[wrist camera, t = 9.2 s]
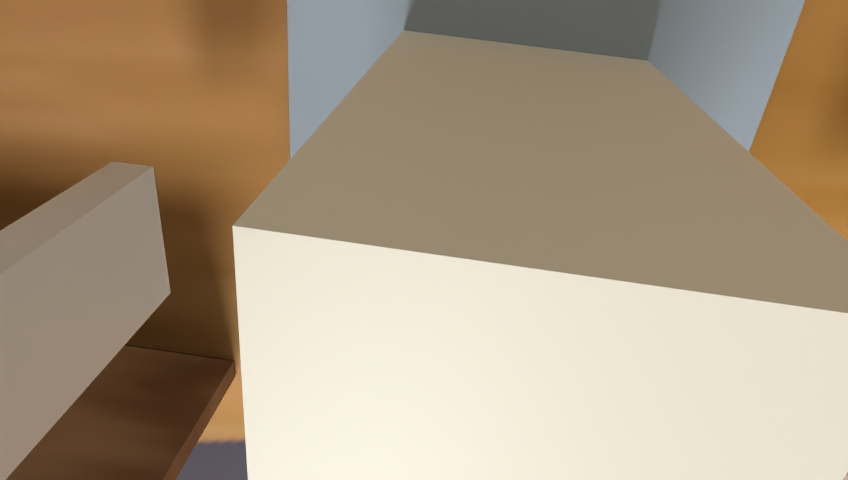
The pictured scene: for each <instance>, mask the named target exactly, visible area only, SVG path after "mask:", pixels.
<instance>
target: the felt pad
mask: <svg viewBox="0 0 848 480" xmlns="http://www.w3.org/2000/svg"><path fill="white" fill-rule="evenodd" d="M804 2H805V0H287V20H288V71H289V121H290V159H291V158H292V157H293V156H294V155H295V154H296V153H297V151H298V150H299V149H300V148H301V147H302V146H303V145H304V143H305V142H306V141H307V140H308V139H309V138H310V137H311V135H312V134H313V133H314V132H315V131H316V130H317V129H318V127H319V126H320V125H321V124H322V123H323V122H324V121H325V119H326V118H327V117H328V116H329V115H330V114H331V113H332V111H333V110H334V109H335V108H336V107H337V106H338V105H339V103H340V102H341V101H342V100H343V99H344V98H345V97H346V95H347V94H348V93H349V92H350V91H351V90H352V89H353V87H354V86H355V85H356V84H357V83H358V82H359V81H360V79H361V78H362V77H363V76H364V75H365V74H366V73H367V71H368V70H369V69H370V68H371V67H372V66H373V65H374V63H375V62H376V61H377V60H378V59H379V58H380V57H381V55H382V54H383V53H384V52H385V51H386V50H387V49H388V47H389V46H390V45H391V44H392V43H393V42H394V41H395V39H396V38H397V37H398V36H399V35H400V34H401V33H402V31H403V30H405V31H413V32H421V33H429V34H437V35H445V36H453V37H461V38H470V39H478V40H486V41H494V42H502V43H510V44H518V45H526V46H534V47H542V48H550V49H558V50H566V51H574V52H582V53H590V54H598V55H606V56H614V57H622V58H630V59H638V60H646V61H649V62H650V63H651V64H652V65H653V66H654V67H655V68H657V69H658V70H659V71H660V72H661V73H662V74H663V75H664V76H665V77H666V78H668V79H669V80H670V81H671V82H672V83H673V84H674V85H675V86H676V87H678V88H679V89H680V90H681V91H682V92H683V93H684V94H685V95H686V96H687V97H689V98H690V99H691V100H692V101H693V102H694V103H695V104H696V105H697V106H699V107H700V108H701V109H702V110H703V111H704V112H705V113H706V114H707V115H708V116H710V117H711V118H712V119H713V120H714V121H715V122H716V123H717V124H718V125H719V126H721V127H722V128H723V129H724V130H725V131H726V132H727V133H728V134H729V135H731V136H732V137H733V138H734V139H735V140H736V141H737V142H738V143H739V144H740V145H742V146H743V147H744V148H745V149H746V150H747V151H748V152H749V150H750V147H751V145H752V142H753V139H754V137H755V134H756V131H757V129H758V126H759V123H760V120H761V118H762V115H763V112H764V110H765V107H766V104H767V102H768V99H769V96H770V94H771V91H772V88H773V86H774V83H775V80H776V77H777V75H778V72H779V69H780V67H781V64H782V61H783V59H784V56H785V53H786V51H787V48H788V45H789V42H790V40H791V37H792V34H793V32H794V29H795V26H796V24H797V21H798V18H799V16H800V13H801V10H802V8H803V5H804Z"/></svg>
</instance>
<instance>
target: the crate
mask: <svg viewBox="0 0 848 480" xmlns="http://www.w3.org/2000/svg"><path fill="white" fill-rule="evenodd" d="M234 378H235V371H234V361H229V360H222V359H215V358H209V357H202V356H195V355H188V354H181V353H174V352H167V351H160V350H153V349H146V348H139V347H132V346H125V345H124V346H123V347H122V349H121V350H120V351H119V352H118V353H117V354H116V355H115V356H114V358H113V359H112V360H111V361H110V362H109V363H108V364H107V366H106V367H105V368H104V369H103V370H102V371H101V372H100V373H99V375H98V376H97V377H96V378H95V379H94V380H93V381H92V382H91V384H90V385H89V386H88V387H87V388H86V389H85V390H84V392H83V393H82V394H81V395H80V396H79V397H78V398H77V399H76V401H75V402H74V403H73V404H72V405H71V406H70V407H69V409H68V410H67V411H66V412H65V413H64V414H63V415H62V416H61V418H60V419H59V420H58V421H57V422H56V423H55V424H54V425H53V427H52V428H51V429H50V430H49V431H48V432H47V433H46V435H45V436H44V437H43V438H42V439H41V440H40V441H39V442H38V444H37V445H36V446H35V447H34V448H33V449H32V450H31V452H30V453H29V454H28V455H27V456H26V457H25V458H24V459H23V461H22V462H21V463H20V464H19V465H18V466H17V467H16V468H15V470H14V471H13V472H12V473H11V474H10V475H9V476H8V478H7V479H6V480H175V479H176V478H177V476H178V474H179V473H180V471H181V469H182V467H183V466H184V464H185V462H186V461H187V459H188V457H189V455H190V453H191V452H192V450H193V448H194V447H195V445H196V443H197V442H198V440H199V438H200V436H201V435H202V433H203V431H204V429H205V428H206V426H207V424H208V422H209V421H210V419H211V417H212V416H213V414H214V412H215V410H216V409H217V407H218V405H219V403H220V402H221V400H222V398H223V397H224V395H225V393H226V391H227V390H228V388H229V386H230V384H231V383H232V381H233V379H234Z"/></svg>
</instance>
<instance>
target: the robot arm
mask: <svg viewBox="0 0 848 480" xmlns="http://www.w3.org/2000/svg"><path fill="white" fill-rule="evenodd" d="M170 293H171V292H170V284H169V277H168V270H167V263H166V255H165V248H164V241H163V234H162V226H161V219H160V212H159V205H158V198H157V190H156V183H155V176H154V169H153V166H146V165H138V164H130V163H122V162H115V161H112V162H110V163H109V164H107V165H106V166H104V167H102V168H101V169H99V170H98V171H96V172H94V173H93V174H91V175H89V176H88V177H86V178H85V179H83V180H81V181H80V182H78V183H76V184H75V185H73V186H72V187H70V188H68V189H67V190H65V191H64V192H62V193H60V194H59V195H57V196H55V197H54V198H52V199H51V200H49V201H47V202H46V203H44V204H43V205H41V206H39V207H38V208H36V209H34V210H33V211H31V212H30V213H28V214H26V215H25V216H23V217H21V218H20V219H18V220H17V221H15V222H13V223H12V224H10V225H9V226H7V227H5V228H4V229H2V230H0V480H6V479H7V478H8V476H9V475H10V474H11V473H12V472H13V471H14V470H15V468H16V467H17V466H18V465H19V464H20V463H21V462H22V461H23V459H24V458H25V457H26V456H27V455H28V454H29V453H30V452H31V450H32V449H33V448H34V447H35V446H36V445H37V444H38V442H39V441H40V440H41V439H42V438H43V437H44V436H45V435H46V433H47V432H48V431H49V430H50V429H51V428H52V427H53V425H54V424H55V423H56V422H57V421H58V420H59V419H60V418H61V416H62V415H63V414H64V413H65V412H66V411H67V410H68V409H69V407H70V406H71V405H72V404H73V403H74V402H75V401H76V399H77V398H78V397H79V396H80V395H81V394H82V393H83V392H84V390H85V389H86V388H87V387H88V386H89V385H90V384H91V382H92V381H93V380H94V379H95V378H96V377H97V376H98V375H99V373H100V372H101V371H102V370H103V369H104V368H105V367H106V366H107V364H108V363H109V362H110V361H111V360H112V359H113V358H114V356H115V355H116V354H117V353H118V352H119V351H120V350H121V349H122V347H123V346H124V345H125V344H126V343H127V342H128V341H129V339H130V338H131V337H132V336H133V335H134V334H135V333H136V332H137V330H138V329H139V328H140V327H141V326H142V325H143V324H144V322H145V321H146V320H147V319H148V318H149V317H150V316H151V315H152V313H153V312H154V311H155V310H156V309H157V308H158V307H159V306H160V304H161V303H162V302H163V301H164V300H165V299H166V298H167V296H168V295H169V294H170Z"/></svg>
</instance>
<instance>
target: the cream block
mask: <svg viewBox="0 0 848 480" xmlns="http://www.w3.org/2000/svg"><path fill="white" fill-rule="evenodd" d="M232 227H233V243H234V259H235V276H236V292H237V308H238V325H239V341H240V357H241V374H242V390H243V406H244V423H245V439H246V454H247V471H248V480H843V478H844V477H845V475H846V474H847V472H848V241H846V240H845V239H844V238H843V237H842V236H841V235H840V234H839V233H838V232H837V231H835V230H834V229H833V228H832V227H831V226H830V225H829V224H828V223H827V222H825V221H824V220H823V219H822V218H821V217H820V216H819V215H818V214H817V213H816V212H814V211H813V210H812V209H811V208H810V207H809V206H808V205H807V204H806V203H804V202H803V201H802V200H801V199H800V198H799V197H798V196H797V195H796V194H795V193H793V192H792V191H791V190H790V189H789V188H788V187H787V186H786V185H785V184H784V183H782V182H781V181H780V180H779V179H778V178H777V177H776V176H775V175H774V174H772V173H771V172H770V171H769V170H768V169H767V168H766V167H765V166H764V165H763V164H761V163H760V162H759V161H758V160H757V159H756V158H755V157H754V156H753V155H752V154H750V153H749V152H748V151H747V150H746V149H745V148H744V147H743V146H742V145H740V144H739V143H738V142H737V141H736V140H735V139H734V138H733V137H732V136H731V135H729V134H728V133H727V132H726V131H725V130H724V129H723V128H722V127H721V126H719V125H718V124H717V123H716V122H715V121H714V120H713V119H712V118H711V117H710V116H708V115H707V114H706V113H705V112H704V111H703V110H702V109H701V108H700V107H699V106H697V105H696V104H695V103H694V102H693V101H692V100H691V99H690V98H689V97H687V96H686V95H685V94H684V93H683V92H682V91H681V90H680V89H679V88H678V87H676V86H675V85H674V84H673V83H672V82H671V81H670V80H669V79H668V78H666V77H665V76H664V75H663V74H662V73H661V72H660V71H659V70H658V69H657V68H655V67H654V66H653V65H652V64H651V63H650V62H649V61H646V60H638V59H630V58H622V57H614V56H606V55H598V54H590V53H582V52H574V51H566V50H558V49H550V48H542V47H534V46H526V45H518V44H510V43H502V42H494V41H486V40H478V39H470V38H461V37H453V36H445V35H437V34H429V33H421V32H413V31H405V30H403V31H402V33H401V34H400V35H399V36H398V37H397V38H396V39H395V41H394V42H393V43H392V44H391V45H390V46H389V47H388V49H387V50H386V51H385V52H384V53H383V54H382V55H381V57H380V58H379V59H378V60H377V61H376V62H375V63H374V65H373V66H372V67H371V68H370V69H369V70H368V71H367V73H366V74H365V75H364V76H363V77H362V78H361V79H360V81H359V82H358V83H357V84H356V85H355V86H354V87H353V89H352V90H351V91H350V92H349V93H348V94H347V95H346V97H345V98H344V99H343V100H342V101H341V102H340V103H339V105H338V106H337V107H336V108H335V109H334V110H333V111H332V113H331V114H330V115H329V116H328V117H327V118H326V119H325V121H324V122H323V123H322V124H321V125H320V126H319V127H318V129H317V130H316V131H315V132H314V133H313V134H312V135H311V137H310V138H309V139H308V140H307V141H306V142H305V143H304V145H303V146H302V147H301V148H300V149H299V150H298V151H297V153H296V154H295V155H294V156H293V157H292V158H291V159H290V161H289V162H288V163H287V164H286V165H285V166H284V167H283V169H282V170H281V171H280V172H279V173H278V174H277V175H276V177H275V178H274V179H273V180H272V181H271V182H270V183H269V185H268V186H267V187H266V188H265V189H264V190H263V191H262V193H261V194H260V195H259V196H258V197H257V198H256V199H255V201H254V202H253V203H252V204H251V205H250V206H249V207H248V209H247V210H246V211H245V212H244V213H243V214H242V215H241V217H240V218H239V219H238V220H237V221H236V222H235V223H234V225H233V226H232Z"/></svg>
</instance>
